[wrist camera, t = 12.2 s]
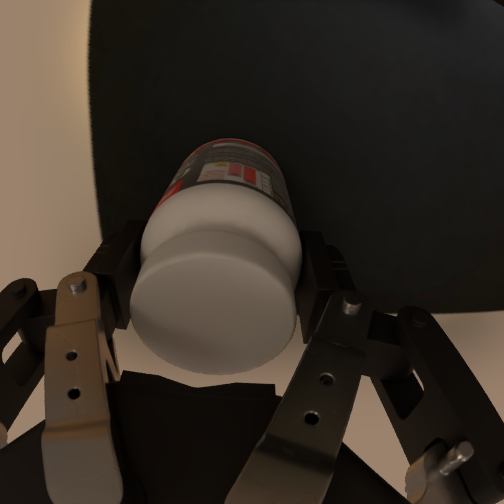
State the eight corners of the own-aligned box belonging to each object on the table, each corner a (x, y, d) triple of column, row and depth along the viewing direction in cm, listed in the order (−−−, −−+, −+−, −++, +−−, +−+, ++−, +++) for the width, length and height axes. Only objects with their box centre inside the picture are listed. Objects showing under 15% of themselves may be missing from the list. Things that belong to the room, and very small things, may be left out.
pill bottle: (181, 130, 15) (99, 218, 7) (293, 144, 16) (345, 247, 7) (175, 229, 18) (125, 371, 10) (274, 241, 19) (291, 389, 10)
